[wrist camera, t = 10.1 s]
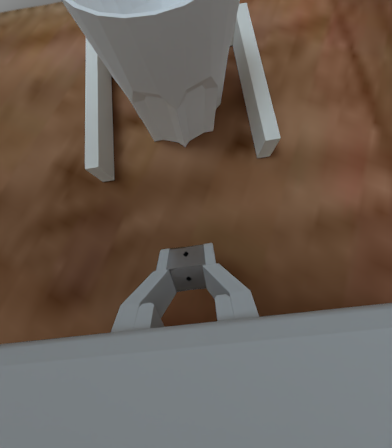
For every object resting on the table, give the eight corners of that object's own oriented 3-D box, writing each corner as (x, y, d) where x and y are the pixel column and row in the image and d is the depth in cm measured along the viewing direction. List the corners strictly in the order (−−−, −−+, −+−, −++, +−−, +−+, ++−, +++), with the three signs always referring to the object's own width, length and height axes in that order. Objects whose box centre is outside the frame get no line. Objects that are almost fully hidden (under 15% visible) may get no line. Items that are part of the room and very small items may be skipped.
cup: (149, 67, 19) (89, -125, 10) (237, 78, 18) (270, -128, 8) (121, 144, 18) (13, 7, 8) (215, 163, 16) (224, 27, 7)
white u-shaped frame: (269, 156, 16) (280, 138, 14) (102, 181, 17) (84, 169, 14) (241, 35, 19) (246, 2, 17) (101, 62, 20) (85, 34, 17)
